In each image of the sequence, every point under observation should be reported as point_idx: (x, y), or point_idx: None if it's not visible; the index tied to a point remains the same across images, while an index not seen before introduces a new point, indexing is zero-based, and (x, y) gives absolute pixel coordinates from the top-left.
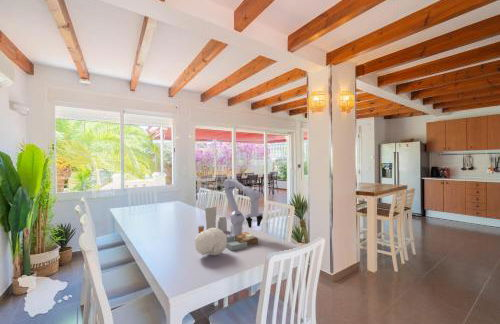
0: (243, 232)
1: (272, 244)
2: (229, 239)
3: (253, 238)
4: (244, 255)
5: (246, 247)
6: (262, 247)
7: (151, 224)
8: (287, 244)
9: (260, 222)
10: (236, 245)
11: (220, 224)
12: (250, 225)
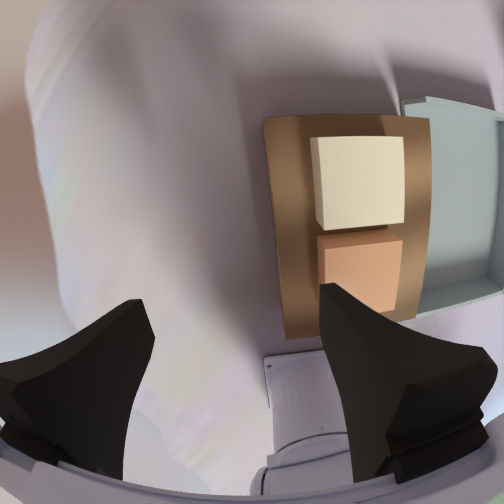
0: None
1: (140, 58)
2: (445, 295)
3: (322, 134)
4: (458, 15)
5: (406, 100)
6: (271, 27)
7: None
8: (50, 39)
9: (86, 327)
10: (499, 112)
11: None
12: (356, 299)
